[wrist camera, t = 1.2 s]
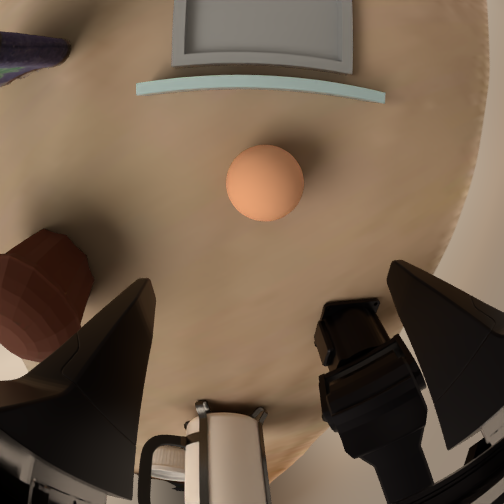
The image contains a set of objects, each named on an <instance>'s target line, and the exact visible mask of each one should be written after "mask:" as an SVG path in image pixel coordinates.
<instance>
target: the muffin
mask: <svg viewBox="0 0 504 504" xmlns="http://www.w3.org/2000/svg"><path fill="white" fill-rule="evenodd" d="M93 282H94V278H93V276H92V273H91V271H90V269H89V265H88V261H87V257H86V255H85V254H84V253H83V252H82V251H81V250H79V249H78V248H77V247H76V246H75V245H74V244H73V243H72V241H71V240H70V239H69V238H68V237H67V235H64V234H58V233H54V232H51V231H49V230H46V229H42V230H40V231H39V232H37V233H36V234H34V235H32V236H31V237H29V238H28V239H26V240H24V241H23V242H21V243H20V244H18V245H17V246H15V247H14V248H12V249H11V250H9V251H8V252H7V253H6V254H0V344H2V345H3V346H4V347H5V348H6V349H7V350H9V351H10V352H11V353H13V354H15V355H17V356H18V357H20V358H23V359H27V360H31V361H36V362H42V361H43V360H44V359H46V358H47V357H48V356H49V355H51V354H52V353H53V352H54V351H56V350H57V349H58V348H59V347H60V346H61V345H63V344H64V343H65V342H66V341H67V340H68V339H69V338H70V337H72V336H73V335H74V334H75V333H77V331H78V330H79V329H80V328H81V325H80V324H81V320H82V317H83V313H84V310H85V307H86V303H87V300H88V297H89V294H90V291H91V288H92V285H93Z"/></svg>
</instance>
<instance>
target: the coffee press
mask: <svg viewBox="0 0 504 504" xmlns="http://www.w3.org/2000/svg"><path fill="white" fill-rule="evenodd" d="M195 407H196V410H197V413H198V417H195V418H194V419H192V420H191V421H190V422H186V423H185V424H184V428H185V429H186V437H184V436H182V437H181V436H174V435H158V436H154V437H152V438H151V439H149V440H148V441H147V442H146V443H145V445H144V447H143V449H142V453H141V458H140V466H139V478H138V503H139V504H151V503H150V487H151V470H152V458H153V453H154V451H155V450H156V449H157V448H158V447H160V446H164V445H168V446H176V447H181V448H184V450H185V451H186V452H185V504H271V495H270V488H269V480H268V472H267V464H266V455H265V447H264V439H263V429H262V425H263V422H264V420H265V418H266V417H267V415H268V412H267V411H266V410H265V409H264V408H263V407H258V408H257V409H256V410H255V411H254V412H253V413H252V414H251V415H249V416H246V415H243V414H237V413H225V412H221V413H213V412H212V411H211V410H210V408H209V405H208V403H207V401H206V400H202V401H198V402H196V403H195ZM263 410H264V412H263V414H262V416H261V417H260V419H259V422H258V421H256V420H255V419H254V418H255V417H256V416H257V415H258V414H259V413H260V412H261V411H263Z"/></svg>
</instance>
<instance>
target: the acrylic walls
mask: <svg viewBox="0 0 504 504" xmlns="http://www.w3.org/2000/svg"><path fill="white" fill-rule="evenodd" d="M220 89H259V90H281V91H295V92H305V93H315V94H323V95H331V96H338V97H344V98H350V99H356V100H361V101H366V102H375V103H384V104H385V93H384V92H380V91H376V90H371V89H367V88H362V87H357V86H352V85H346V84H341V83H335V82H328V81H321V80H313V79H304V78H294V77H282V76H264V75H212V76H194V77H182V78H172V79H163V80H156V81H149V82H142V83H136V95H143V96H148V95H156V94H164V93H173V92H184V91H198V90H220Z"/></svg>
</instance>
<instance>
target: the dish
mask: <svg viewBox="0 0 504 504" xmlns="http://www.w3.org/2000/svg"><path fill="white" fill-rule="evenodd" d="M220 65H254V66H276V67H289V68H299V69H308V70H316V71H323V72H330V73H336V74H342V75H351V74H352V70H353V16H352V0H174V13H173V32H172V67H173V68H186V67H199V66H220Z"/></svg>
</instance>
